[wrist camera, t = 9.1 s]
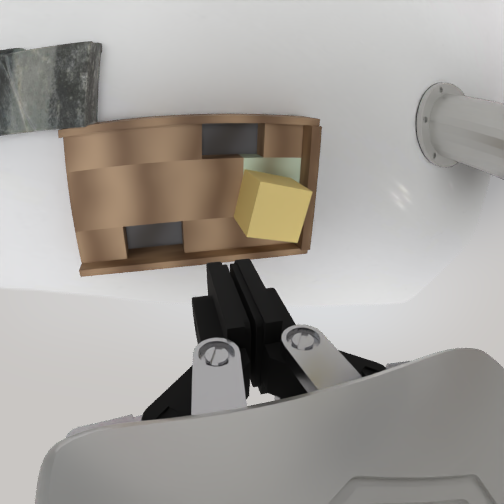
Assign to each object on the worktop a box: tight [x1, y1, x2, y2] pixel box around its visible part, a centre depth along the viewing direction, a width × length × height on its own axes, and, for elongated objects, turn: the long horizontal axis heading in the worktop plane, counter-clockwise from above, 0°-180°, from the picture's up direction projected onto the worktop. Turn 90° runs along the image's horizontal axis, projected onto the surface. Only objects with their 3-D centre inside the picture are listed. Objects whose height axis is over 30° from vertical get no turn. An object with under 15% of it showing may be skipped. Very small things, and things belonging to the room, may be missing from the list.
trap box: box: [58, 114, 322, 277], centre depth 30 cm, size 24×14×4 cm, turn 88°
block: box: [234, 169, 313, 243], centre depth 30 cm, size 5×5×5 cm
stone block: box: [0, 41, 102, 136], centre depth 20 cm, size 9×14×5 cm, turn 83°
